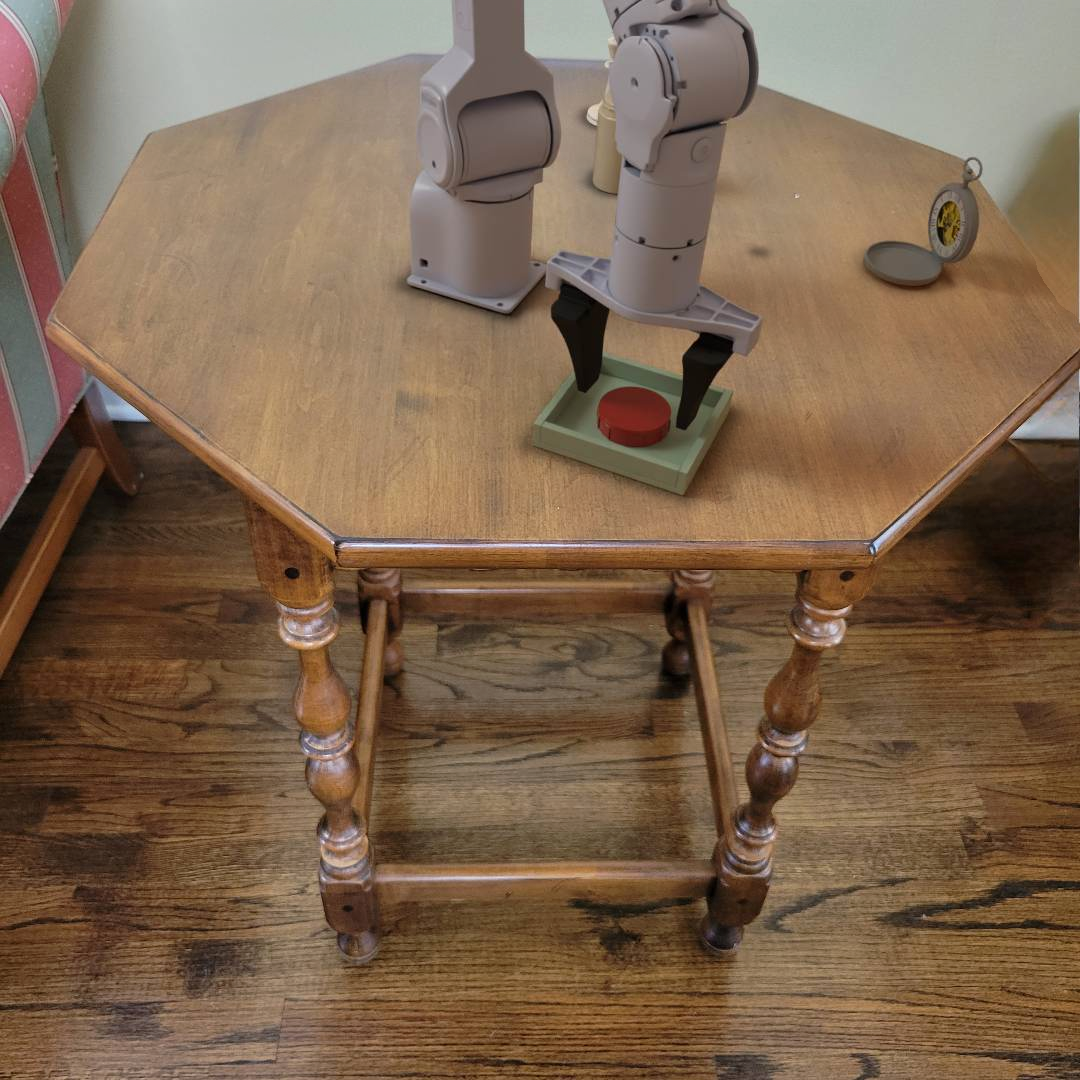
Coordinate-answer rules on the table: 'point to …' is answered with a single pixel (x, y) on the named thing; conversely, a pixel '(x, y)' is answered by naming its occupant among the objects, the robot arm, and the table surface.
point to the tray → (661, 464)
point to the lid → (633, 416)
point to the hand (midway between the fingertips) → (636, 402)
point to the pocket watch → (932, 238)
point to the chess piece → (593, 110)
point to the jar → (606, 149)
